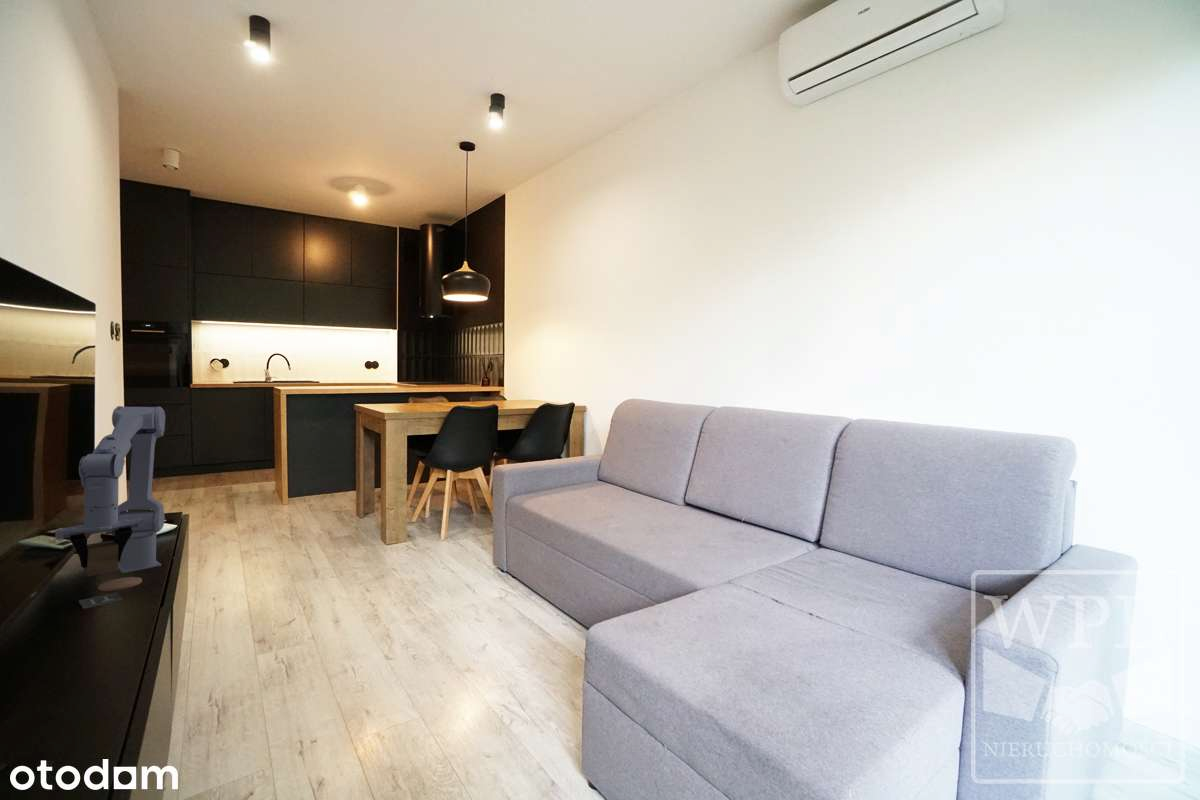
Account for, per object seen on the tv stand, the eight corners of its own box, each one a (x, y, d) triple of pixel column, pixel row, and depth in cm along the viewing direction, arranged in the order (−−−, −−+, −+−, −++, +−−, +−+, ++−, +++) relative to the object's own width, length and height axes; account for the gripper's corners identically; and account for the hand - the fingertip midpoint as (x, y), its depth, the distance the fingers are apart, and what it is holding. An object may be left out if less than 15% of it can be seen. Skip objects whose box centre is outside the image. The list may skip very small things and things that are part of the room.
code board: (72, 601, 120) (72, 600, 120) (119, 591, 126) (119, 590, 126) (79, 612, 114) (79, 611, 114) (127, 601, 121) (127, 599, 121)
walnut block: (83, 570, 119) (84, 545, 119) (113, 565, 123) (113, 540, 123) (88, 576, 116) (88, 550, 116) (117, 570, 120) (118, 544, 120)
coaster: (95, 585, 128) (95, 583, 128) (137, 576, 135) (137, 574, 135) (102, 594, 124) (102, 592, 124) (145, 585, 130) (145, 582, 130)
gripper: (59, 513, 111) (58, 576, 112) (146, 503, 123) (146, 559, 123) (53, 508, 116) (53, 568, 116) (139, 498, 127) (138, 552, 128)
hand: (100, 563), depth 120 cm, fingers closed on walnut block, 5 cm apart
